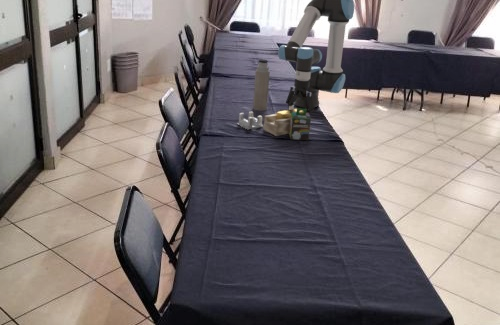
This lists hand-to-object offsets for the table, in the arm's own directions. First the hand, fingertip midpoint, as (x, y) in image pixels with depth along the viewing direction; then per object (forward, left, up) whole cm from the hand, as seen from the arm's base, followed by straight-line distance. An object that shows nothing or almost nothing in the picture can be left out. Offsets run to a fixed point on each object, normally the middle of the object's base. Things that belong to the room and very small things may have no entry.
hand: (297, 120), depth 233 cm
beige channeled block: (+10, 0, -4) cm, 11 cm away
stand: (+21, -13, -4) cm, 25 cm away
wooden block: (+6, 0, +1) cm, 6 cm away
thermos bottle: (-4, -36, -4) cm, 36 cm away
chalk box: (+9, +11, -4) cm, 15 cm away
